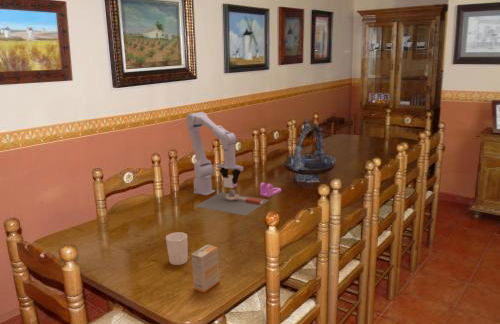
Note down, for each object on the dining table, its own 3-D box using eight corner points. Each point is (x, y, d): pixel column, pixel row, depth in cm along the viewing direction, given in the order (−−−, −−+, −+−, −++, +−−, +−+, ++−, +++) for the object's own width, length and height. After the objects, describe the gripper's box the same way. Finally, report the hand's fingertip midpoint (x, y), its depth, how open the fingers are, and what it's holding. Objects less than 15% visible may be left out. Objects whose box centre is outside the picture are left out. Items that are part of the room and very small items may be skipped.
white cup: (168, 257, 172) (166, 232, 170) (189, 255, 173) (187, 231, 170) (167, 266, 165) (164, 241, 162) (188, 265, 165) (186, 240, 163)
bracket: (268, 197, 235) (268, 185, 234) (260, 195, 239) (260, 183, 237) (283, 191, 245) (282, 179, 243) (274, 189, 248) (274, 177, 247)
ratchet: (223, 200, 232) (222, 191, 231) (230, 196, 238) (229, 187, 237) (258, 206, 222) (258, 196, 221) (265, 201, 228) (265, 192, 227)
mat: (194, 206, 225) (194, 206, 225) (220, 192, 245) (220, 192, 245) (245, 216, 211) (245, 215, 211) (269, 200, 231) (269, 199, 231)
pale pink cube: (224, 186, 230) (223, 177, 229) (229, 184, 234) (228, 174, 233) (232, 188, 228) (231, 178, 227) (237, 185, 232) (236, 175, 231)
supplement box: (209, 278, 155) (206, 243, 152) (220, 282, 153) (218, 247, 149) (193, 289, 149) (190, 253, 146) (204, 293, 146) (201, 256, 143)
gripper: (213, 157, 228) (214, 183, 231) (237, 160, 221) (239, 186, 224) (220, 154, 234) (222, 179, 237) (245, 157, 227) (246, 182, 230)
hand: (230, 182), depth 231 cm, fingers closed on pale pink cube, 5 cm apart
